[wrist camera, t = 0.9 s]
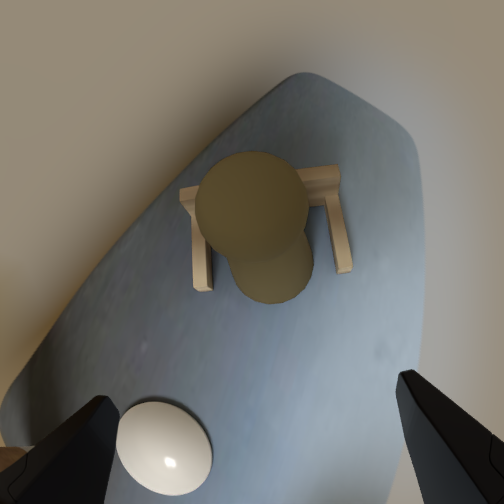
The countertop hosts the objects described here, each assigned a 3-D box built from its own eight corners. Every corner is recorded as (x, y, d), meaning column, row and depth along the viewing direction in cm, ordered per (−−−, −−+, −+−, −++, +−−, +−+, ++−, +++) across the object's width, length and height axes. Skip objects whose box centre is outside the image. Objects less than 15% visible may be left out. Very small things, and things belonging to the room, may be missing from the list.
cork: (325, 239, 23) (337, 150, 13) (295, 316, 22) (287, 281, 11) (250, 214, 25) (213, 120, 14) (218, 286, 23) (151, 229, 13)
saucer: (228, 484, 18) (227, 486, 18) (140, 497, 18) (138, 499, 18) (189, 389, 21) (187, 390, 21) (105, 412, 21) (102, 413, 21)
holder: (350, 272, 22) (359, 255, 18) (200, 291, 23) (180, 279, 20) (333, 192, 24) (337, 164, 20) (197, 212, 25) (179, 189, 22)
